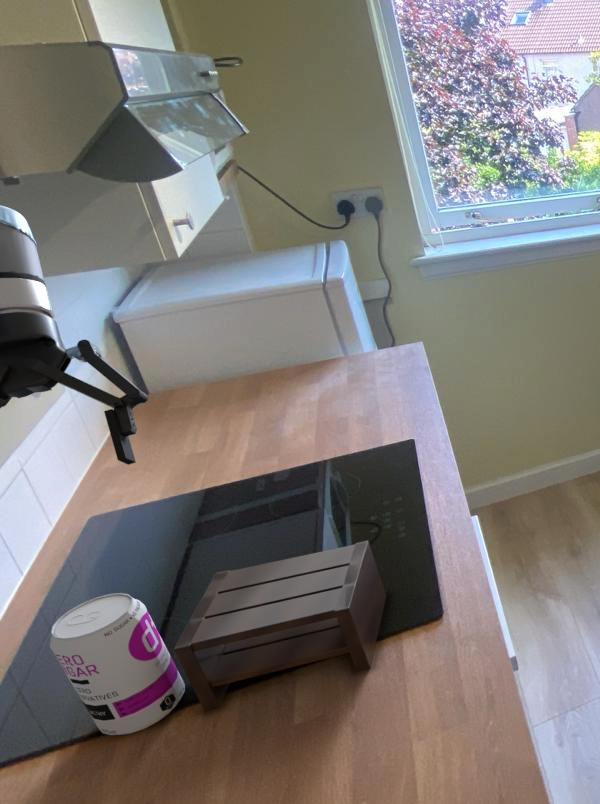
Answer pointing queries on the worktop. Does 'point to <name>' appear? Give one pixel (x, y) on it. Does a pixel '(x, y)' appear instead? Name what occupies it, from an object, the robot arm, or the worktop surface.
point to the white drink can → (117, 663)
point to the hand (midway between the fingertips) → (54, 483)
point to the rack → (282, 618)
